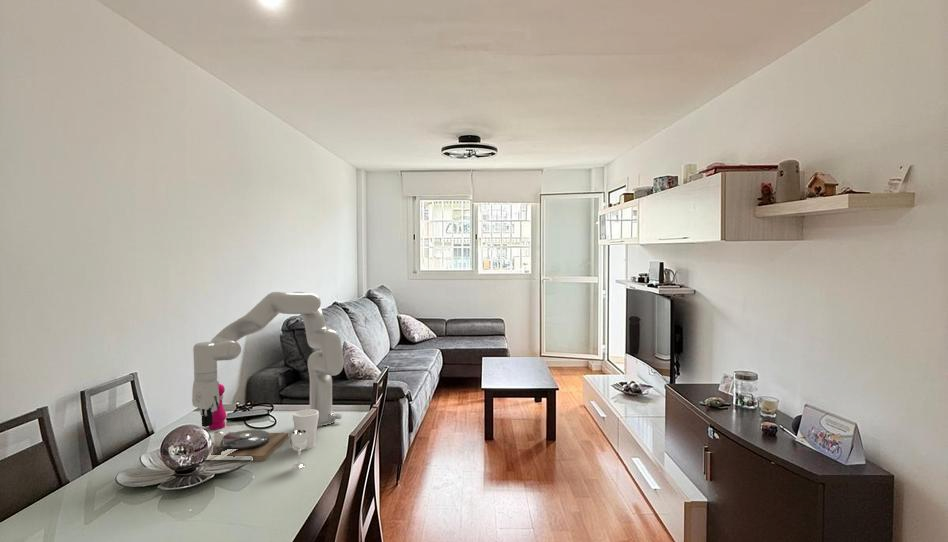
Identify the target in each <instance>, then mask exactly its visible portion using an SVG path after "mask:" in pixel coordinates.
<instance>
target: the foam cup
mask: <svg viewBox="0 0 948 542" xmlns="http://www.w3.org/2000/svg"><path fill="white" fill-rule="evenodd" d="M318 418H319V412H318V411H317V410H313V409H310V408H309V409H308V408H307V409H306V408H305V409H299V410H296V411H294V412H293V413H292V421H293V425H294V426H293V427H294V431H296V430H305V431H306V433H307V437H308V444H307V446H306V448H304V449H303V450H310V449H312V448H314V447H315V444H316V436H317V430H318V426H317V423H318Z"/></svg>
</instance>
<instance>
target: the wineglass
mask: <svg viewBox="0 0 948 542" xmlns="http://www.w3.org/2000/svg"><path fill="white" fill-rule="evenodd" d="M289 441H290V447H291V449H292V450H294V451H297V457H298V460H297V463H295V464H293V465H292V468H293V469H294V470H295V469H296V470H297V469H299V470H300V469H303V467H304V468H305V467H306V464H305V463H301V460H300V459H301V458H300V457H301V455H302V454H301V451H303V450H305V449H304V448H306V446H307V444H308V437H307V433H306V431H305V430H296V431H295V430H293V431H292V432H291V435H290V440H289Z"/></svg>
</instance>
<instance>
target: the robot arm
mask: <svg viewBox="0 0 948 542" xmlns="http://www.w3.org/2000/svg"><path fill="white" fill-rule="evenodd" d="M321 306H322V305H321V298H320V297H319V296H318V294H315V293H313V292H306V291H305V292H303V291H293V292H282V291H272V292H270V293H268V294H267V295H266V296H264V298H261V300H260V301H259V302H258V303H256V305H255V306H254V307H253V308H252V309H251V310H249V311H248V312H247V313H246V314H244V316H242V317H240V318H238V319H237V320H235V321H232V322H231V323H230V324H228V325H227V326H225V327H223V329H221V330H220V331H219V332H218V333H217V334H216V335H215V336H214V337H213V338H212V339H211V340H210V341H203V342H197V343H196V344H194V345H193V348H192V350H193V351H192V352H193V353H192V355H193V375H194V376H193V377H194V378H193V379H194V380H193V384H192V393H191V395H192V396H191V402H192V403H191V404H192V406H193V407H195V408H197V409H198V410H199V413H200V416H201V427H203V428H207V427H209V426H210V425H212V424H213V416H212V415H213V412H215V411H217V407H218V406H219V388H218V382H217V381H218V362H219V361H221V362H222V361H232V360H235V359H237V358H238V357H239V356H240V355H241V352H242V347H241V345H240V343H239V342H238V341H240V340H241V339H243V338H244V337H246V336H249V335H253V334H256V333H258V332H261V331H262V330H264V328H266V327H267V326H268V325H269V324H270V323H271V322H272V321H273V320H274V319H275V318H276V317H277V316H278V315H279V314H284V315H300V317H301V318H302V320H303V323H304V324H303V325H304V327H305V328H304V330H305V334H306V335H305V336H306V341H307V344H308V346H309V347H310V348H312V349H314V350H315V351H313V352H312V353H311V354H310V355H309V356H308V358H307V369H308V374H309V375H308V376H309V409H313V410H317V411H318V412H319V418H318V423H317V427H322V426H321V425H326V424H330V423H332V422H334V421H335V420H342V417H343V416H342V414H341V413H335V411H334V410H333V378H332V376H337V375H339V374H340V373H341V372H342V371H343V368H344V365H345V362H344V353H343V346H342V340H341V337H340V334H339V333H338V332H337V331H335V330H334V329H332V328H327V325H326V321H325V317H324V313H323V311H322V309H321ZM335 422H336V421H335ZM335 422H334V423H335ZM330 425H331V424H330Z"/></svg>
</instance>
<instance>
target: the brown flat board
mask: <svg viewBox="0 0 948 542" xmlns="http://www.w3.org/2000/svg"><path fill="white" fill-rule="evenodd" d="M234 432H235V431H232V432H231V431H230V432H229V431H228V432H227V433H226V434H225V435H224V434H223V437H224V436H226V435H228V434H231V433H234ZM268 433H269V441H268V442H266V443H265V444H262V445H260V446H257V447H253V448H248V449H238V450H236V451H234V452H232V453H230V454H228V455H227V456H233V457H235V456H252V457H253V461H252V462H265V460H267V459H268V458H269V457H270V456H271V455H272V454H273V453H274V452H275V451H277V449H278V448H280V447H281V446H282V445H283V444H284V443H285V442H286V441H287V440H288V439H289V432H268ZM212 442H213V443H212V444H213V448H214V441H212ZM211 455H221V452H219V453H214V452H212V453H211Z"/></svg>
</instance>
